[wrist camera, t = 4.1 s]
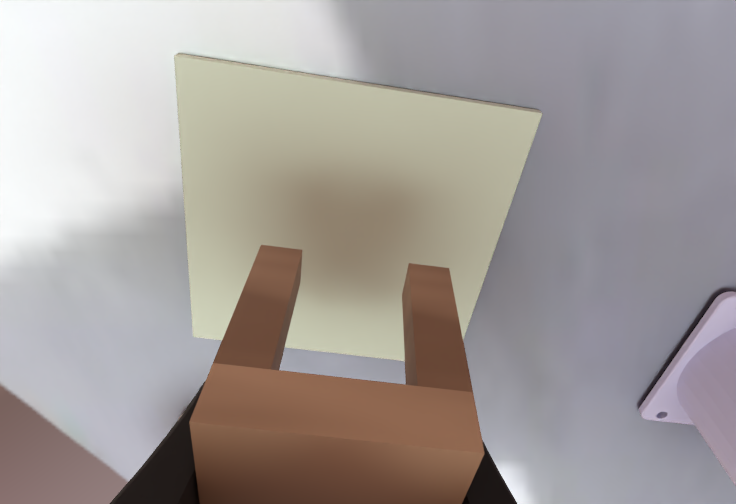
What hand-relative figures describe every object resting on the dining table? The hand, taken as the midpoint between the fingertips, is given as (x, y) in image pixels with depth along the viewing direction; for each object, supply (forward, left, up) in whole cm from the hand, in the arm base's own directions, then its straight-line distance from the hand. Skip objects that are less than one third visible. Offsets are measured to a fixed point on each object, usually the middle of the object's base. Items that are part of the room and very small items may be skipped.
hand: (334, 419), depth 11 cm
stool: (0, 0, -2) cm, 2 cm away
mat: (0, 0, -9) cm, 9 cm away
